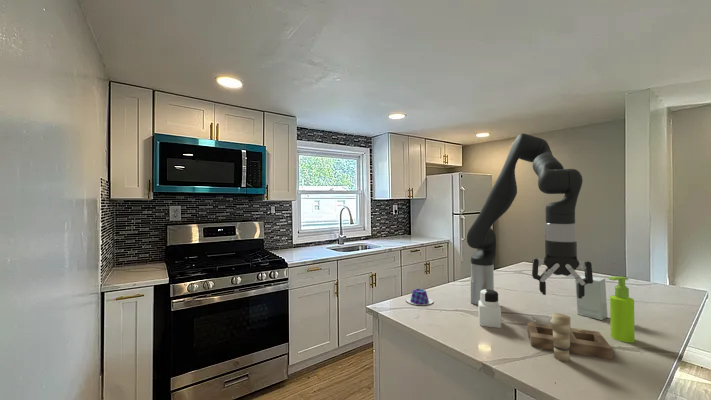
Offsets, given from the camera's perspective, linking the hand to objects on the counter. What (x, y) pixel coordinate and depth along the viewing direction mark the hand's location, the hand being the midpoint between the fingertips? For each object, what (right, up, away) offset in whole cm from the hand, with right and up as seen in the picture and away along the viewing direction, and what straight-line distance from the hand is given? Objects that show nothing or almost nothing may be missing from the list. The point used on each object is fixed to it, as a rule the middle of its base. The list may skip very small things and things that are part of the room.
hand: (561, 296), depth 87 cm
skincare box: (+33, -18, +31) cm, 49 cm away
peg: (0, -18, 0) cm, 18 cm away
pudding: (-30, -19, +50) cm, 61 cm away
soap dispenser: (+27, -18, +12) cm, 35 cm away
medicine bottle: (-10, -18, +25) cm, 32 cm away
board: (+7, -18, +9) cm, 21 cm away
